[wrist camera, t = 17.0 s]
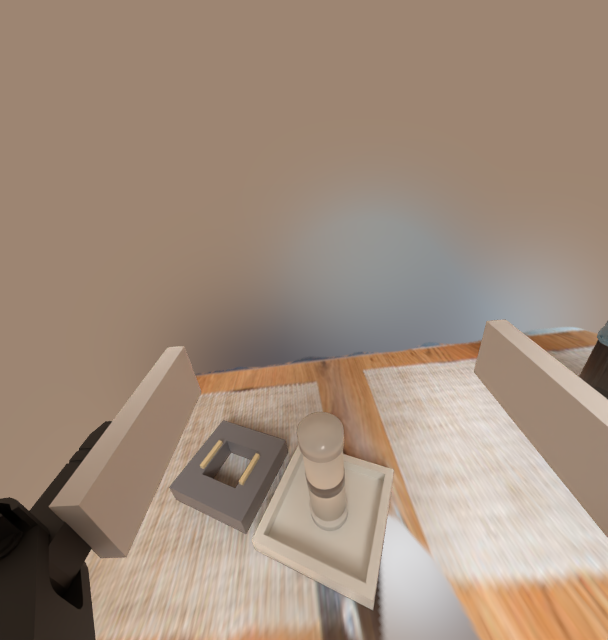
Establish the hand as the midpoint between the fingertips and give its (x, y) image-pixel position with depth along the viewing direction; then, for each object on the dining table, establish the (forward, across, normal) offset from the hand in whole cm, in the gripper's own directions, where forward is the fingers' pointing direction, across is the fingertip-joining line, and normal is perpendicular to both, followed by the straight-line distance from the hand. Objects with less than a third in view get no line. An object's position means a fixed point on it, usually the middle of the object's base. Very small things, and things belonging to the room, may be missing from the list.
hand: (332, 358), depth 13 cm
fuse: (+9, -1, -31) cm, 33 cm away
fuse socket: (+15, -15, -32) cm, 38 cm away
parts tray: (+9, -1, -32) cm, 33 cm away
